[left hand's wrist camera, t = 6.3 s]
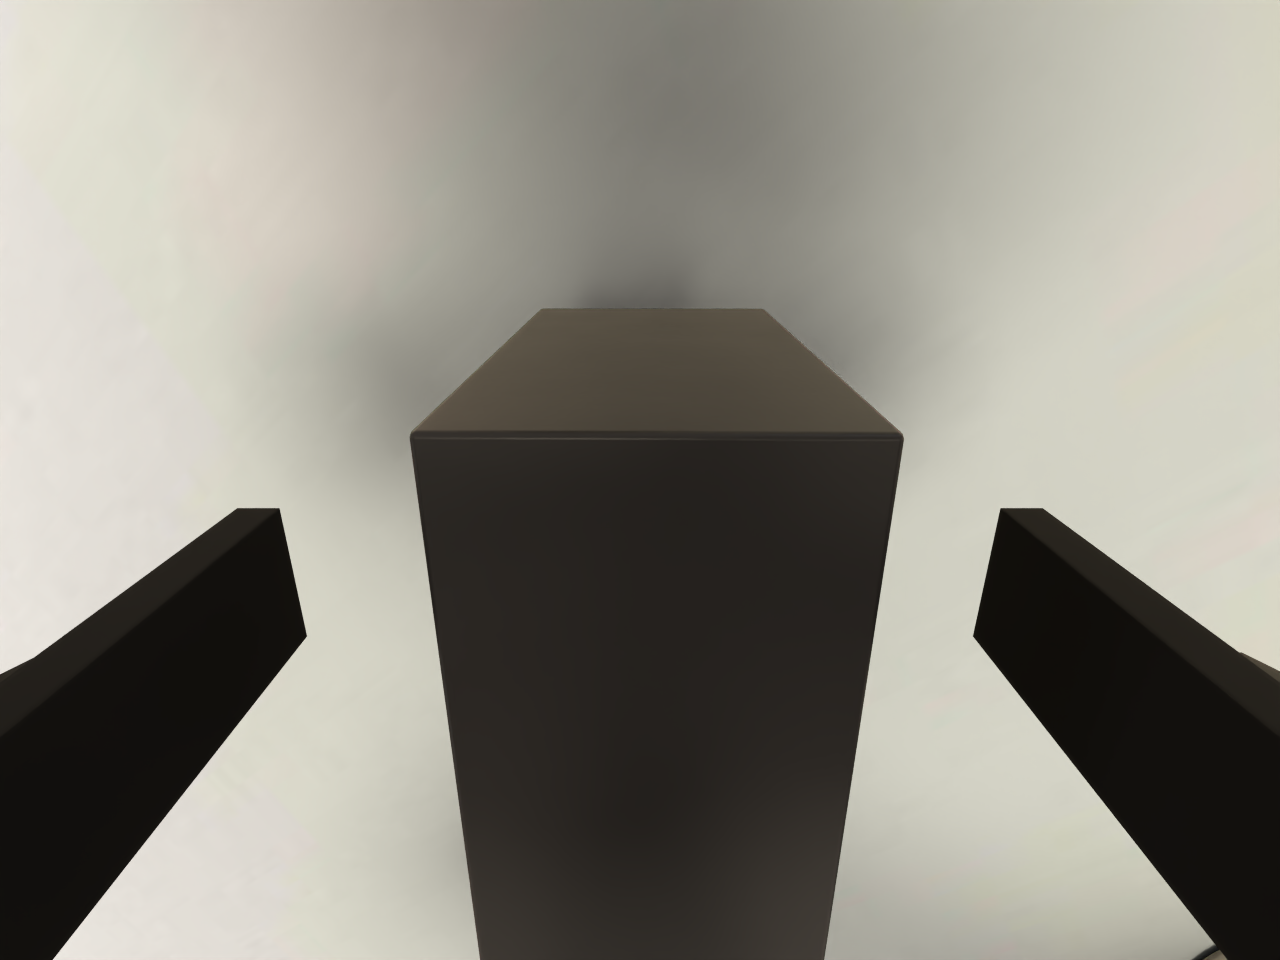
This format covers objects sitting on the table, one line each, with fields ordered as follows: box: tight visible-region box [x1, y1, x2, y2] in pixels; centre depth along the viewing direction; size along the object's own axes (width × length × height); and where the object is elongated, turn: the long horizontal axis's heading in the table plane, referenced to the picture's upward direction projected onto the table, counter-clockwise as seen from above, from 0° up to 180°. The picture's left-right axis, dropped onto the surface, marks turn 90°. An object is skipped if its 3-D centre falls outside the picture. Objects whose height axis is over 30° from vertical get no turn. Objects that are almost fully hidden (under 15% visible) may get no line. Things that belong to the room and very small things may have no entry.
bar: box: [410, 309, 904, 960], centre depth 17 cm, size 28×5×9 cm, turn 0°
